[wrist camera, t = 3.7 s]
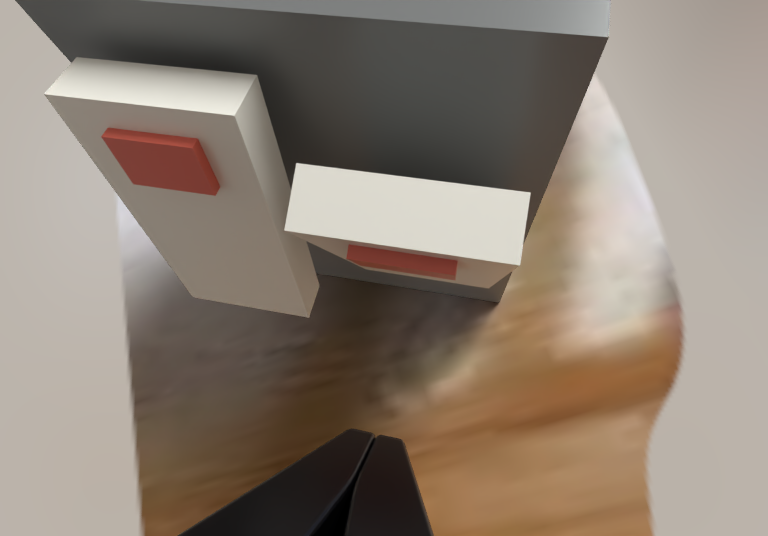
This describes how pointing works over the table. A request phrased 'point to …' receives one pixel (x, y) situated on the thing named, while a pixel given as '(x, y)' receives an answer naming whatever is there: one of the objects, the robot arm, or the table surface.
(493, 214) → the block
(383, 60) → the switch box
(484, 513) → the table surface
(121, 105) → the block
